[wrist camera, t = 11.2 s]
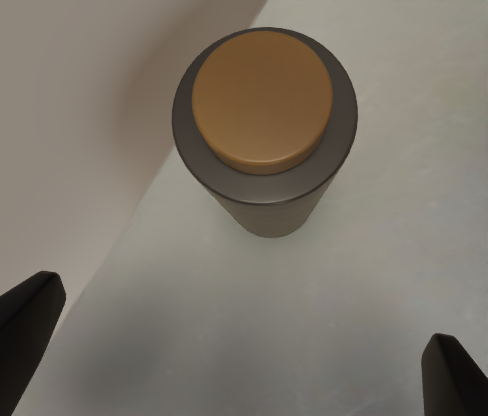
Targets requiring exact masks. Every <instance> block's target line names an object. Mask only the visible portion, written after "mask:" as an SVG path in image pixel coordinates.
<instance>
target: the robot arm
mask: <svg viewBox="0 0 488 416" xmlns="http://www.w3.org/2000/svg"><path fill="white" fill-rule="evenodd" d="M65 301H66V293H65V290H64V287H63V284H62V281H61V278H60V276H59V274H57V273H55V272H49V271H40V272H38V273H36V274H35V275H33V276H31V277H30V278H28V279H27V280H25V281H23V282H22V283H20V284H19V285H17V286H16V287H14V288H12V289H11V290H9V291H8V292H6V293H5V294H3V295H1V296H0V416H11V415H12V413H13V411H14V410H15V408H16V406H17V404H18V402H19V400H20V399H21V397H22V395H23V393H24V391H25V389H26V387H27V386H28V384H29V382H30V380H31V378H32V376H33V375H34V373H35V371H36V369H37V367H38V365H39V363H40V361H41V359H42V357H43V355H44V353H45V350H46V348H47V346H48V343H49V341H50V338H51V336H52V334H53V331H54V329H55V326H56V324H57V321H58V319H59V317H60V314H61V312H62V309H63V307H64V305H65ZM421 366H422V382H423V398H424V415H425V416H488V378H487V377H486V376H485V374H484V373H483V372H482V371H481V369H480V368H479V367H478V366H477V364H476V363H475V362H474V360H473V359H472V358H471V357H470V355H469V354H468V353H467V351H466V350H465V349H464V348H463V346H462V345H461V344H460V343H459V341H458V340H457V339H456V338H455V337H454V336H451V335H446V334H440V333H435V334H434V335H433V336H432V337H431V339H430V341H429V343H428V344H427V346H426V348H425V350H424V352H423V354H422V359H421Z"/></svg>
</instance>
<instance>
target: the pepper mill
mask: <svg viewBox="0 0 488 416" xmlns="http://www.w3.org/2000/svg"><path fill="white" fill-rule="evenodd" d="M357 122H358V106H357V100H356V94H355V91H354V88H353V85H352V82H351V80H350V78H349V76H348V74H347V72H346V71H345V69H344V68H343V66H342V65H341V63H340V62H339V61H338V60H337V58H336V57H335V56H334V55H333V54H332V53H331V52H330V51H329V50H328V49H326V48H325V47H324V46H323V45H321V44H320V43H318V42H317V41H315V40H314V39H312V38H310V37H308V36H306V35H304V34H301V33H298V32H295V31H292V30H287V29H283V28H273V27H260V28H252V29H246V30H242V31H239V32H236V33H233V34H231V35H228V36H226V37H224V38H222V39H220V40H218V41H216V42H215V43H213V44H212V45H210V46H209V47H208V48H207V49H205V50H204V51H203V52H202V53H201V54H200V55H199V56H198V57H197V58H196V59H195V60H194V61H193V62H192V64H191V65H190V66H189V67H188V69H187V70H186V72H185V74H184V76H183V77H182V79H181V81H180V84H179V86H178V88H177V91H176V94H175V98H174V102H173V109H172V130H173V136H174V140H175V144H176V147H177V150H178V152H179V155H180V157H181V159H182V160H183V162H184V164H185V166H186V167H187V169H188V170H189V171H190V172H191V174H192V175H193V176H194V177H195V178H196V179H197V180H198V181H199V182H200V183H201V184H202V185H203V186H204V187H205V189H206V190H207V191H208V192H209V193H210V194H211V195H212V196H213V197H214V198H215V199H216V200H217V201H218V202H219V203H220V204H221V205H222V206H223V207H224V208H225V209H226V210H227V211H228V212H229V213H230V214H231V215H232V216H233V217H234V218H235V219H236V220H237V221H238V222H239V223H240V224H241V225H242V226H243V227H244V228H245V229H246V230H247V231H249V232H251V233H252V234H255V235H257V236H261V237H266V238H277V237H282V236H286V235H288V234H291V233H292V232H294V231H296V230H297V229H298V228H300V227H301V226H302V225H303V224H304V222H305V221H306V220H307V218H308V217H309V215H310V214H311V212H312V211H313V209H314V207H315V206H316V204H317V203H318V201H319V200H320V198H321V197H322V195H323V194H324V192H325V191H326V189H327V188H328V186H329V185H330V183H331V181H332V180H333V178H334V177H335V175H336V174H337V172H338V171H339V169H340V168H341V166H342V165H343V163H344V161H345V159H346V158H347V156H348V154H349V152H350V150H351V147H352V145H353V142H354V139H355V135H356V130H357Z"/></svg>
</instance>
